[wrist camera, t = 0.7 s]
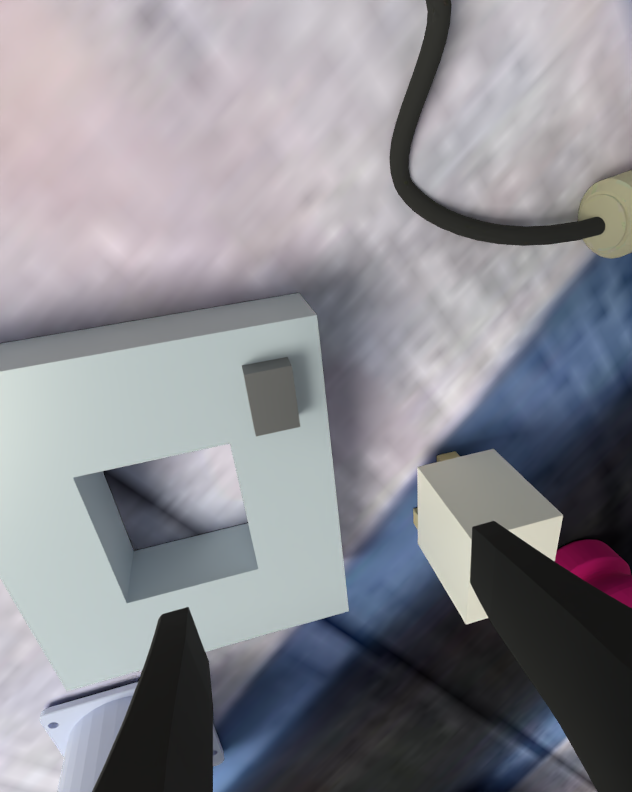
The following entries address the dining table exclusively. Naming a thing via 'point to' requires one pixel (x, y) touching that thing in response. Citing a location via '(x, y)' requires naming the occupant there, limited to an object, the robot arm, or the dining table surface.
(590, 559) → the pepper mill
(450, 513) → the cream rectangular block
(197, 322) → the socket plate
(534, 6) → the dining table surface
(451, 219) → the cable
